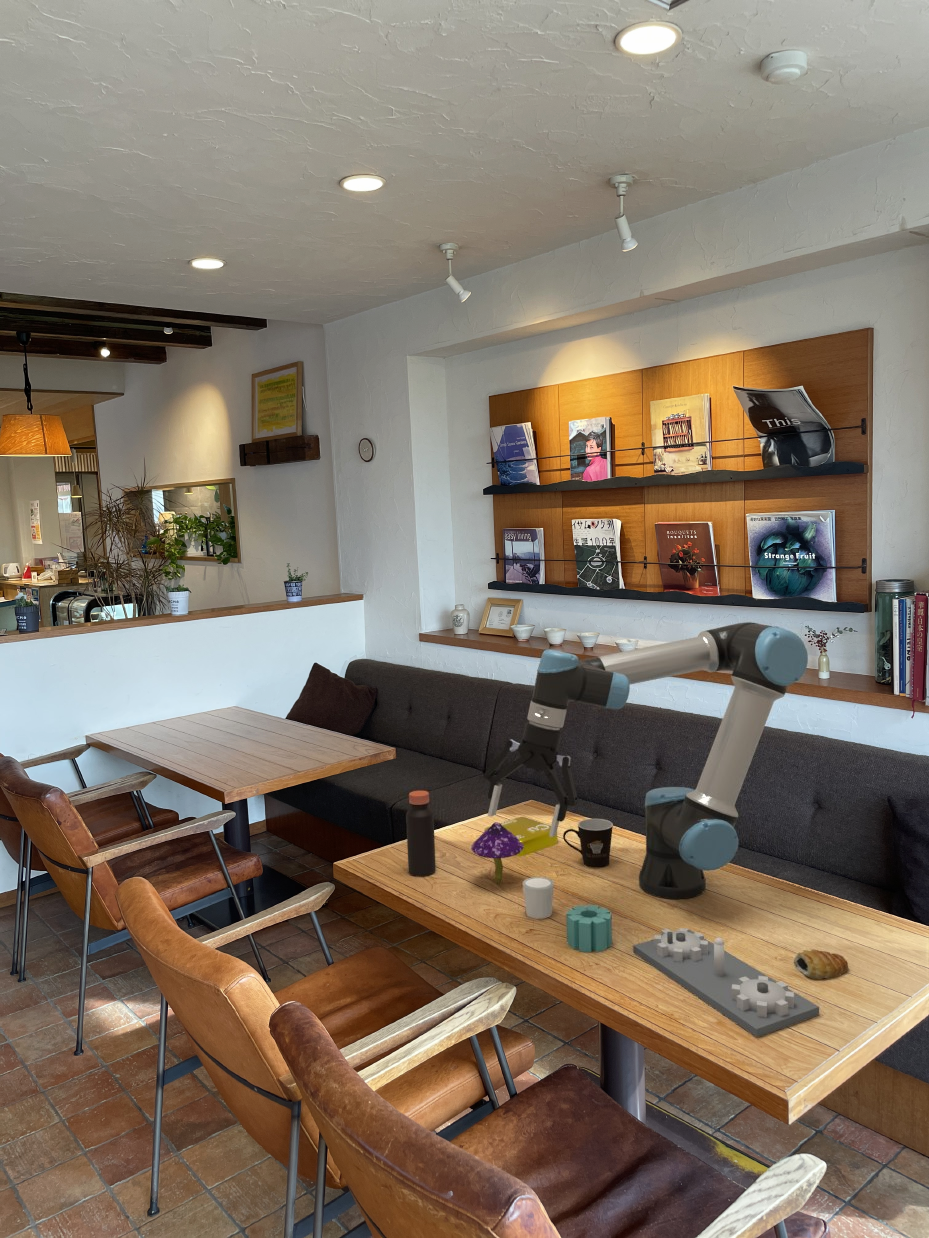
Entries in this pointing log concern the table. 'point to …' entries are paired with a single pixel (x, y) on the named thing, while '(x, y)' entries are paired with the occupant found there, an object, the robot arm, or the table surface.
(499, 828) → the decorative mushroom
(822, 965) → the pastry
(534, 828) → the element tile
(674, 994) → the table surface
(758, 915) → the table surface
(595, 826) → the coffee mug
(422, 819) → the bottle
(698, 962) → the gear board
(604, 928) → the idler gear
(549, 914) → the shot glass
